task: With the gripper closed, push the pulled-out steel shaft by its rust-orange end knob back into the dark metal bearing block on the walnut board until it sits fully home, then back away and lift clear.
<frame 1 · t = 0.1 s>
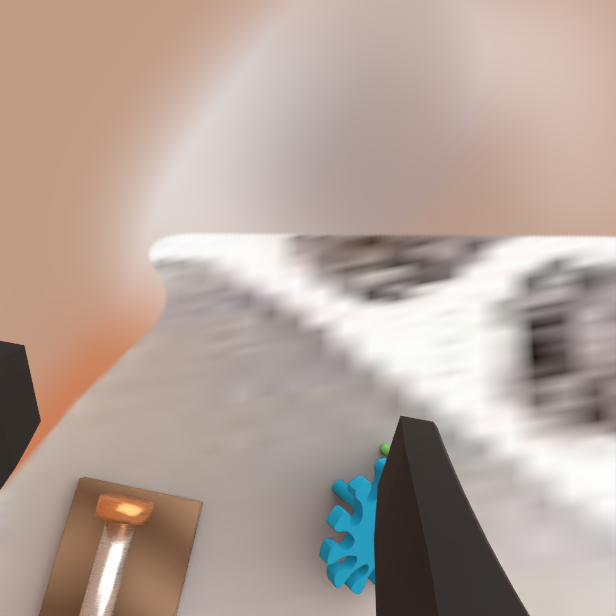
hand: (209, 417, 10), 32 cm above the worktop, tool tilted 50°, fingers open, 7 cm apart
gear: (377, 509, 41), on the worktop
shaft: (98, 605, 35), point 4 cm above the worktop, slide at 5.0 cm
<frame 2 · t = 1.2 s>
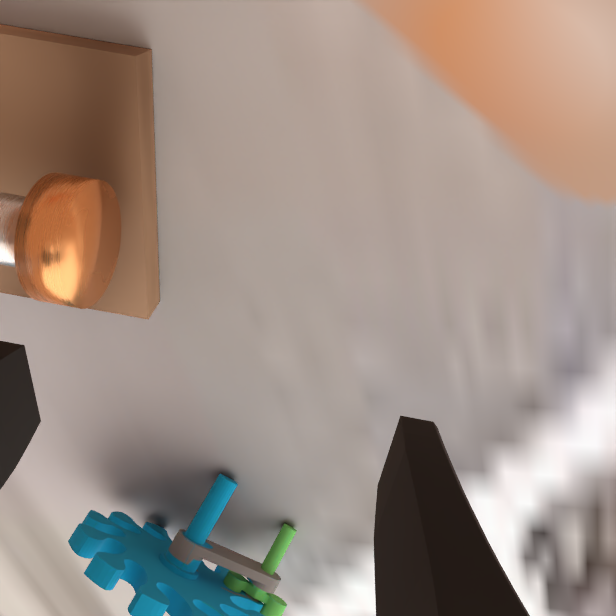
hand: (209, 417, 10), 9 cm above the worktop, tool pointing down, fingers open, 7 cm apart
gear: (207, 505, 28), on the worktop
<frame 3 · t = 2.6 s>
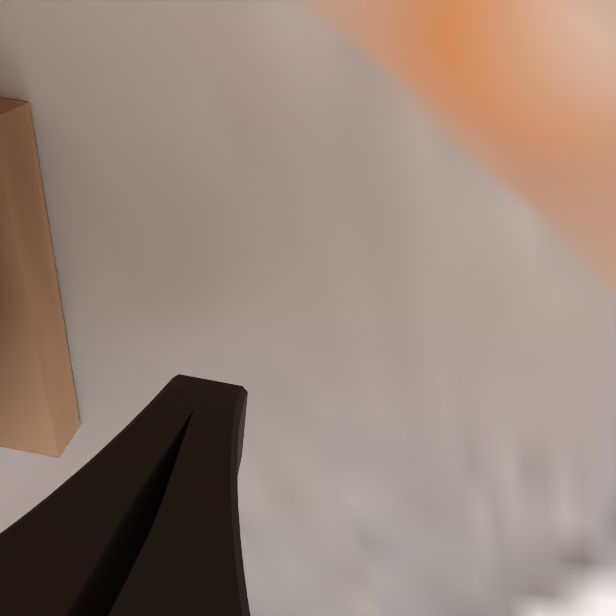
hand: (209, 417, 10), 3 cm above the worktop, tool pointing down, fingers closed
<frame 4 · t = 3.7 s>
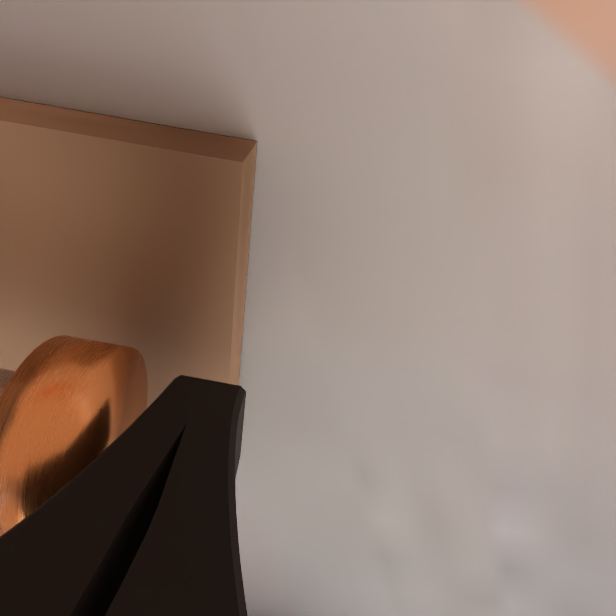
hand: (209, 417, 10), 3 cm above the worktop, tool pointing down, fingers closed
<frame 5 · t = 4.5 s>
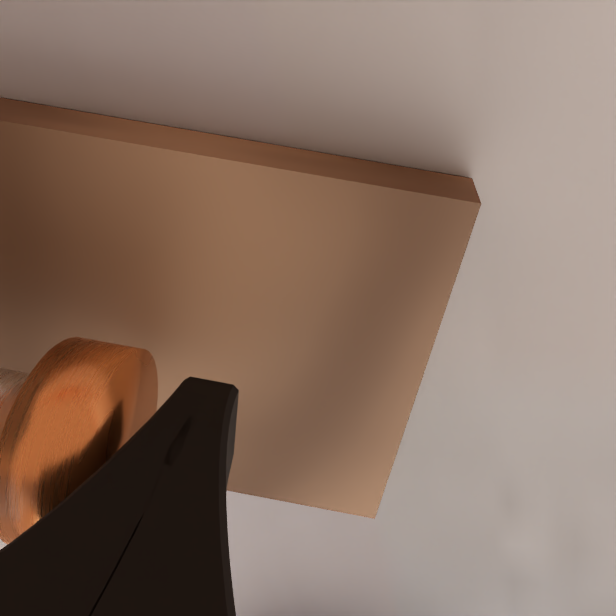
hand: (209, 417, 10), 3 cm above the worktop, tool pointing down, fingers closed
bearing stand: (22, 289, 13), on the worktop
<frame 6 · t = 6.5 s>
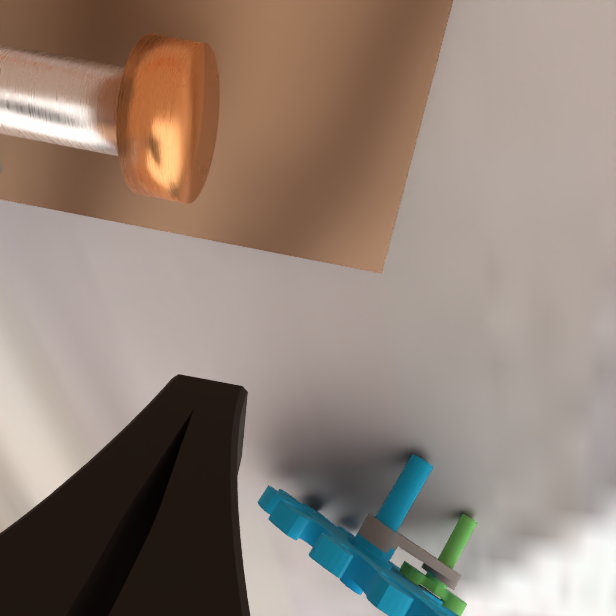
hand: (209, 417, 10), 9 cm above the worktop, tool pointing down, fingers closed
gear: (375, 489, 26), on the worktop
bearing stand: (102, 64, 16), on the worktop
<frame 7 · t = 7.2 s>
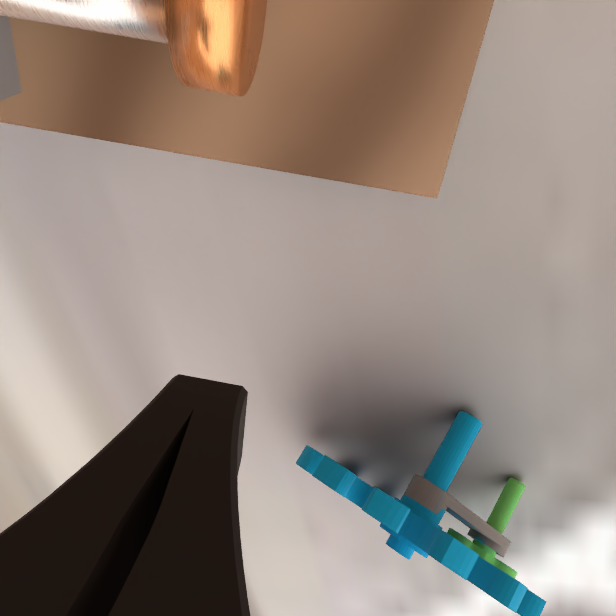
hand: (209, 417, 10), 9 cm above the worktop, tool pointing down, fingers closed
gear: (416, 453, 24), on the worktop
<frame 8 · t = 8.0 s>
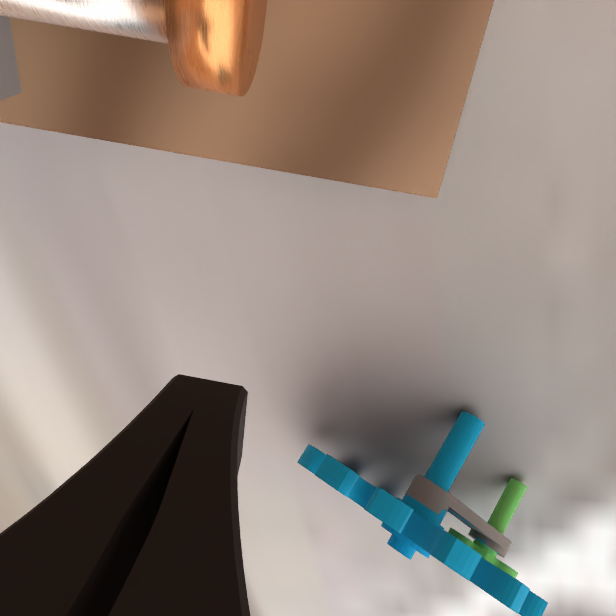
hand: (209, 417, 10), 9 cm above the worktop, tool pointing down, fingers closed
gear: (417, 452, 24), on the worktop
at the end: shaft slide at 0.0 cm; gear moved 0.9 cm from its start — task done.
